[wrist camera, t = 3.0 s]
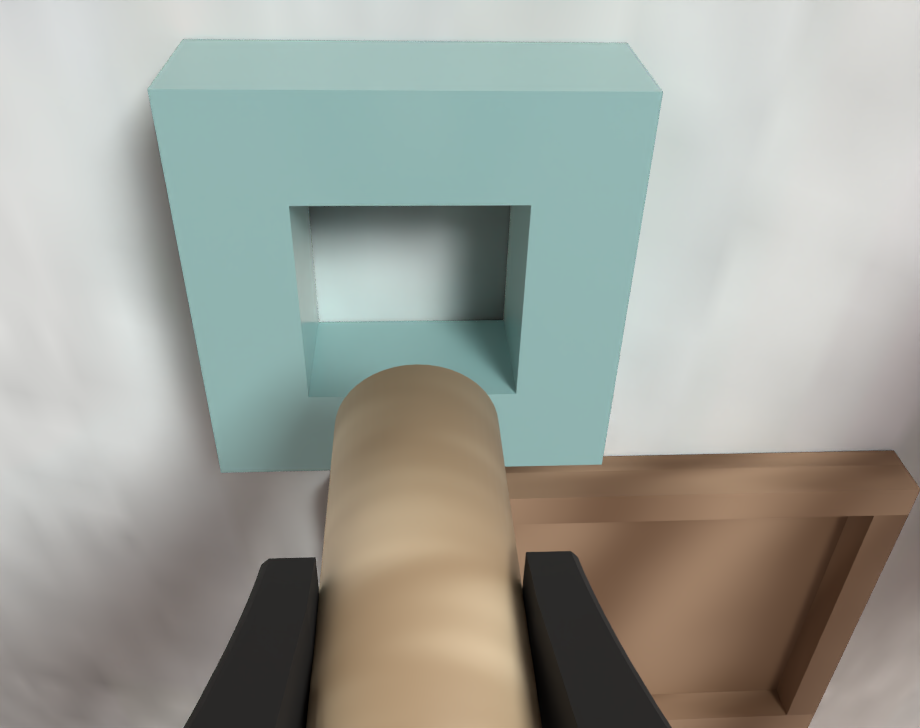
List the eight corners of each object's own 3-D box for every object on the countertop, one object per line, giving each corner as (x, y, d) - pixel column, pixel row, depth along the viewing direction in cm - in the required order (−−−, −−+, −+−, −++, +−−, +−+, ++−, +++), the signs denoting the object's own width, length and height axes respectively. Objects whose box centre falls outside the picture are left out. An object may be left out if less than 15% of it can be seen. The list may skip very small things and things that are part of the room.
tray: (893, 450, 25) (920, 489, 24) (790, 689, 32) (806, 730, 31) (341, 461, 24) (338, 503, 23) (360, 705, 31) (359, 748, 30)
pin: (503, 363, 14) (591, 901, 8) (494, 487, 16) (560, 1016, 9) (329, 365, 14) (267, 919, 7) (339, 490, 15) (296, 1031, 9)
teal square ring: (627, 42, 18) (663, 91, 15) (580, 387, 23) (601, 464, 21) (183, 39, 17) (147, 89, 15) (240, 393, 22) (221, 472, 20)
